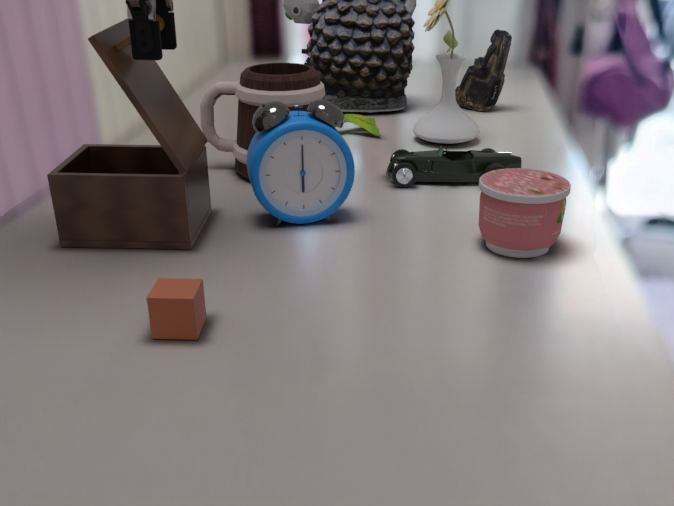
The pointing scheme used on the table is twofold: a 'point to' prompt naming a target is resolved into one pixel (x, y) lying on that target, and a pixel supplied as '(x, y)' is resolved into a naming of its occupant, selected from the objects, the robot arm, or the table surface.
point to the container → (521, 210)
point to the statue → (485, 75)
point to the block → (176, 308)
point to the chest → (129, 198)
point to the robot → (301, 15)
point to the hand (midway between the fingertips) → (155, 52)
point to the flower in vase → (446, 94)
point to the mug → (259, 101)
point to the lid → (151, 95)
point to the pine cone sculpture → (363, 52)
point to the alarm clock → (300, 161)
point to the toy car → (447, 165)
